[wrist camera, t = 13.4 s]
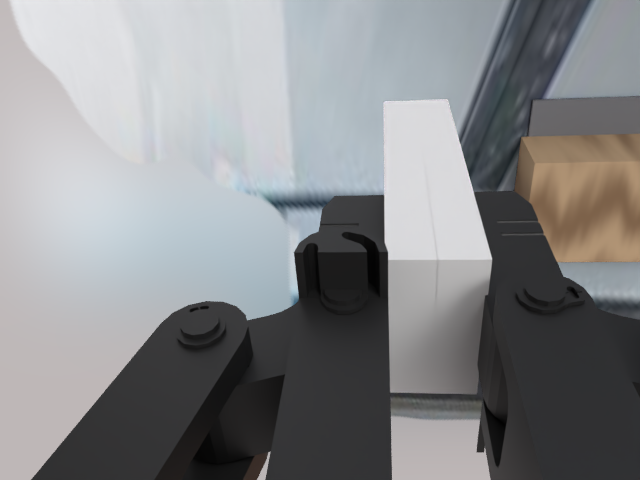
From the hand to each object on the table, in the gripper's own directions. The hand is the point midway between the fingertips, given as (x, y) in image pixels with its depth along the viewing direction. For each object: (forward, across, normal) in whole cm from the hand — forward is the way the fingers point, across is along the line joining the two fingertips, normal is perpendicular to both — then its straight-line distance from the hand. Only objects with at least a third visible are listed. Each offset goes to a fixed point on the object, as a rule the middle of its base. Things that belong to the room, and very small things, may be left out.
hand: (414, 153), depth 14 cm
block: (+30, +10, -18) cm, 36 cm away
